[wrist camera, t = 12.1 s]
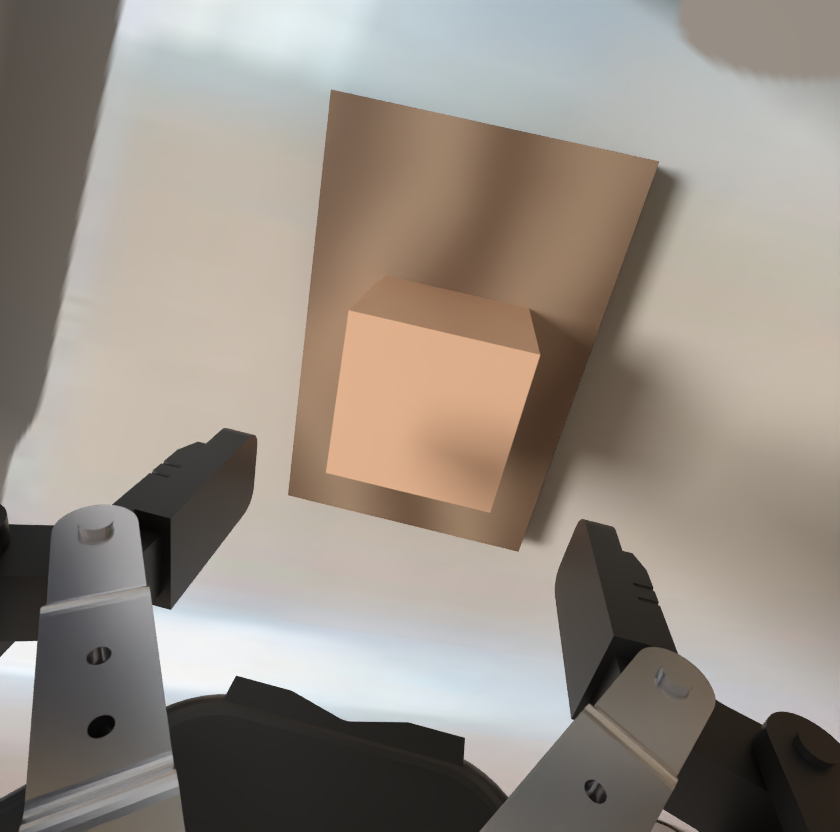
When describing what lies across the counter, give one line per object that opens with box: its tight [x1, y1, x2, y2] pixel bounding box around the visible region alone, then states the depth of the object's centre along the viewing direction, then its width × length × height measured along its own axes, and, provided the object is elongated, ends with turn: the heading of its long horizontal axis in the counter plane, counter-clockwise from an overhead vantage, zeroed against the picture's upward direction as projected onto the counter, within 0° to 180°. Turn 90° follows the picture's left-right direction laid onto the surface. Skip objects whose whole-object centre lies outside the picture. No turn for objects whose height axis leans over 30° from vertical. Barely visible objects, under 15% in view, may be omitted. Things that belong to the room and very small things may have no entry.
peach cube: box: [326, 275, 540, 513], centre depth 20 cm, size 6×6×6 cm
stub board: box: [288, 90, 659, 551], centre depth 22 cm, size 12×18×5 cm, turn 169°
